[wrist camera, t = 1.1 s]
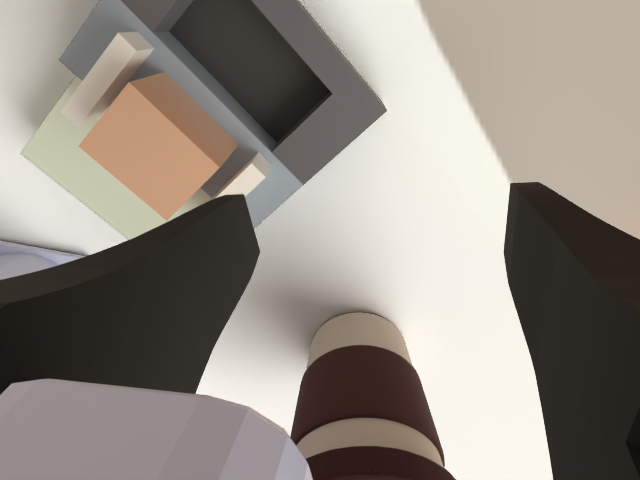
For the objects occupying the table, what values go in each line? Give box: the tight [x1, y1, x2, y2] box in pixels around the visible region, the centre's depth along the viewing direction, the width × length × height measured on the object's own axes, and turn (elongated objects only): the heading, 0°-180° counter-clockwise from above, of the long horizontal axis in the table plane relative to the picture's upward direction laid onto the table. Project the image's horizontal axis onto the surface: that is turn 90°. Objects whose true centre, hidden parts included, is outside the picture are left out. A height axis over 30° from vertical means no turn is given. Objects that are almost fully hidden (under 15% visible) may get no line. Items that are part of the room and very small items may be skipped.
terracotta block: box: [79, 72, 238, 221], centre depth 20 cm, size 4×5×4 cm
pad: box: [20, 76, 211, 240], centre depth 25 cm, size 6×11×2 cm, turn 43°
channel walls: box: [60, 32, 272, 201], centre depth 21 cm, size 5×9×2 cm, turn 43°
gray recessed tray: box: [59, 0, 387, 228], centre depth 22 cm, size 10×13×2 cm
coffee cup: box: [290, 312, 456, 480], centre depth 25 cm, size 10×10×15 cm
